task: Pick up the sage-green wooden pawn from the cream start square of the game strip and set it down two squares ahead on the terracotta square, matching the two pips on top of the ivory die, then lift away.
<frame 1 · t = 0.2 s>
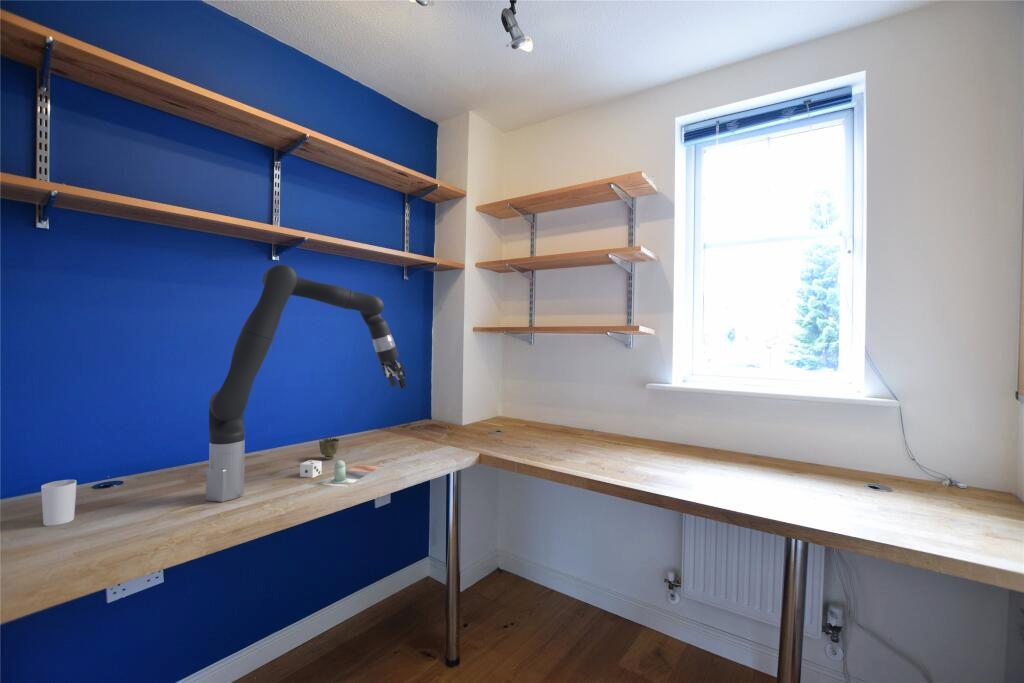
hand: (398, 387, 173), 31 cm above the table, tool tilted 20°, fingers open, 8 cm apart
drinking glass: (59, 522, 118), on the table
game strip: (352, 475, 161), on the table
die: (310, 476, 160), on the table
pawn: (339, 481, 153), resting on game strip
cup: (328, 459, 182), on the table
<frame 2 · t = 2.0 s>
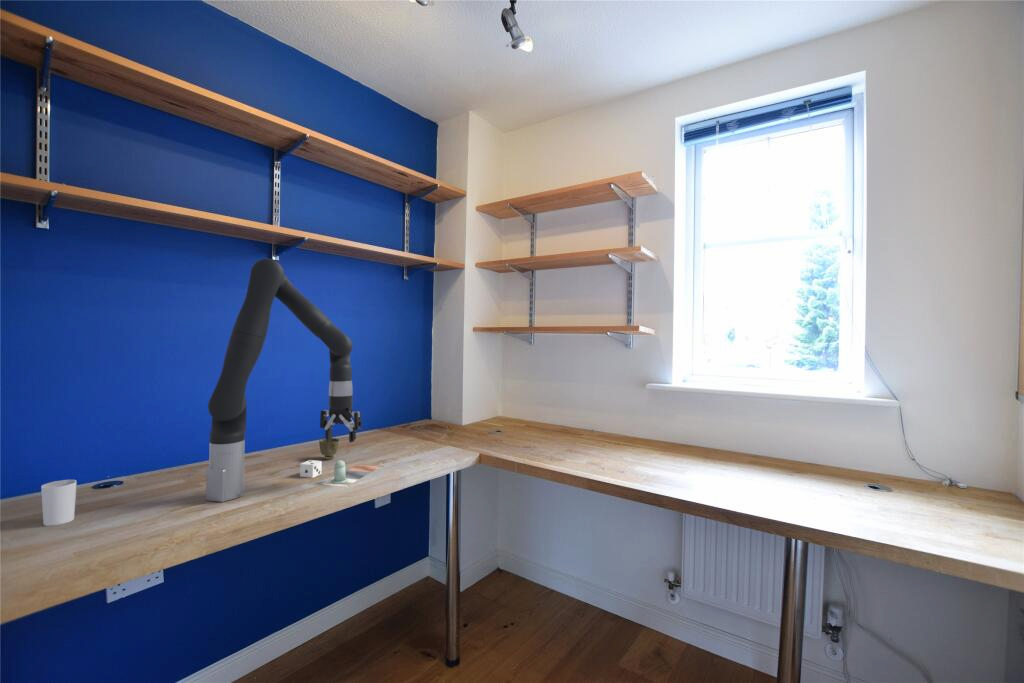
hand: (340, 441, 153), 14 cm above the table, tool pointing down, fingers open, 8 cm apart
nothing on the table moved.
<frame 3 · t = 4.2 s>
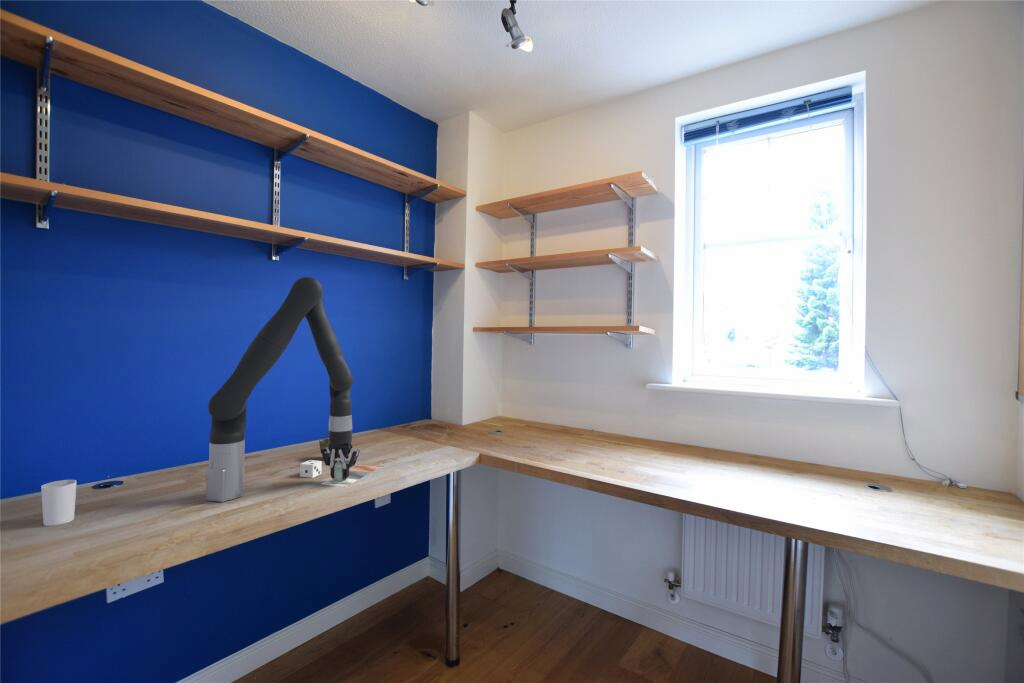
hand: (339, 478, 153), 2 cm above the table, tool pointing down, fingers closed on pawn, 3 cm apart
pawn: (339, 481, 153), resting on game strip, touching gripper
everything else where it was.
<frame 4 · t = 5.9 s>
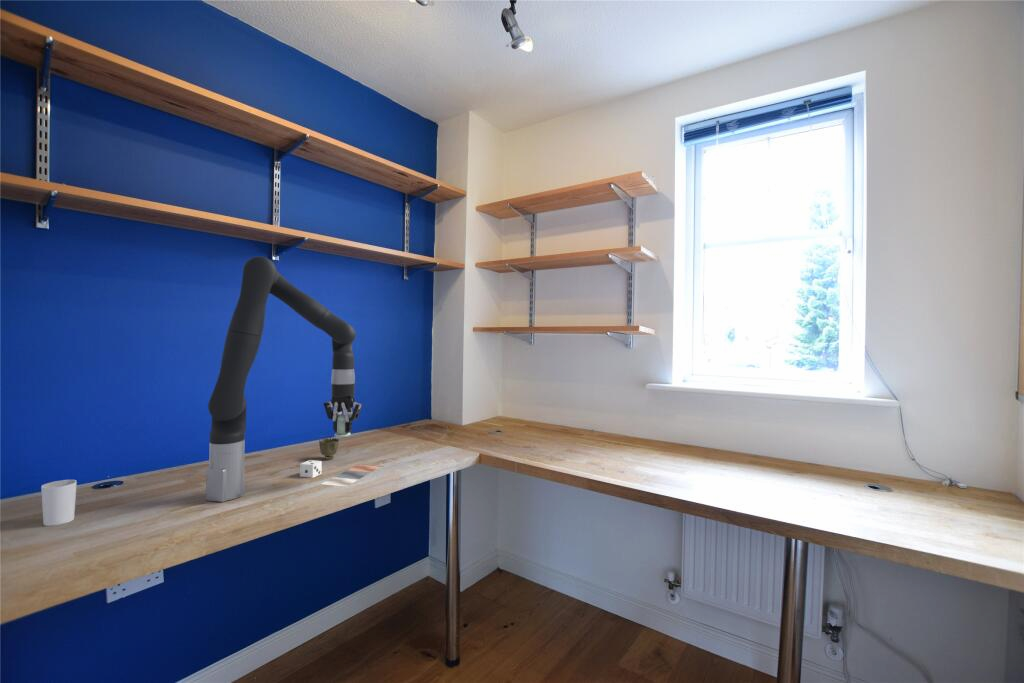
hand: (342, 431, 154), 17 cm above the table, tool pointing down, fingers closed on pawn, 3 cm apart
pawn: (342, 435, 154), point 16 cm above the table, touching gripper
everything else where it was.
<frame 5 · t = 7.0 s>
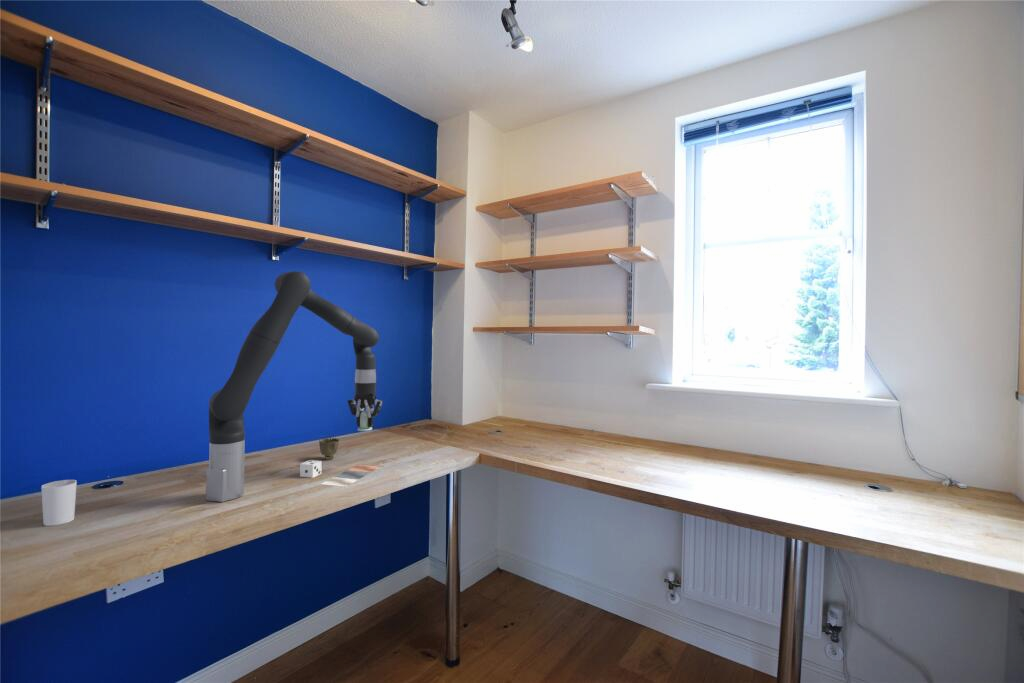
hand: (365, 426, 168), 16 cm above the table, tool pointing down, fingers closed on pawn, 3 cm apart
pawn: (364, 429, 168), point 15 cm above the table, touching gripper
everything else where it was.
when the fingers open (3 cm above the table, at t = 9.4 s): pawn drops 1 cm, resting on game strip.
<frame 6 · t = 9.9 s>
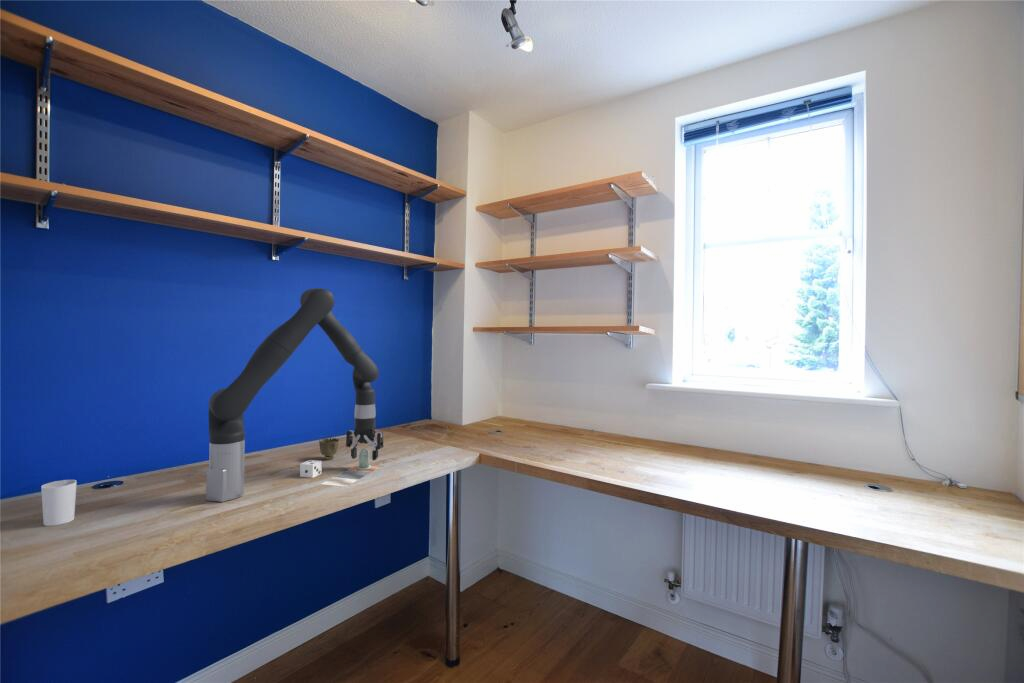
hand: (364, 459, 168), 4 cm above the table, tool pointing down, fingers open, 8 cm apart
pawn: (364, 468, 168), resting on game strip
everything else where it was.
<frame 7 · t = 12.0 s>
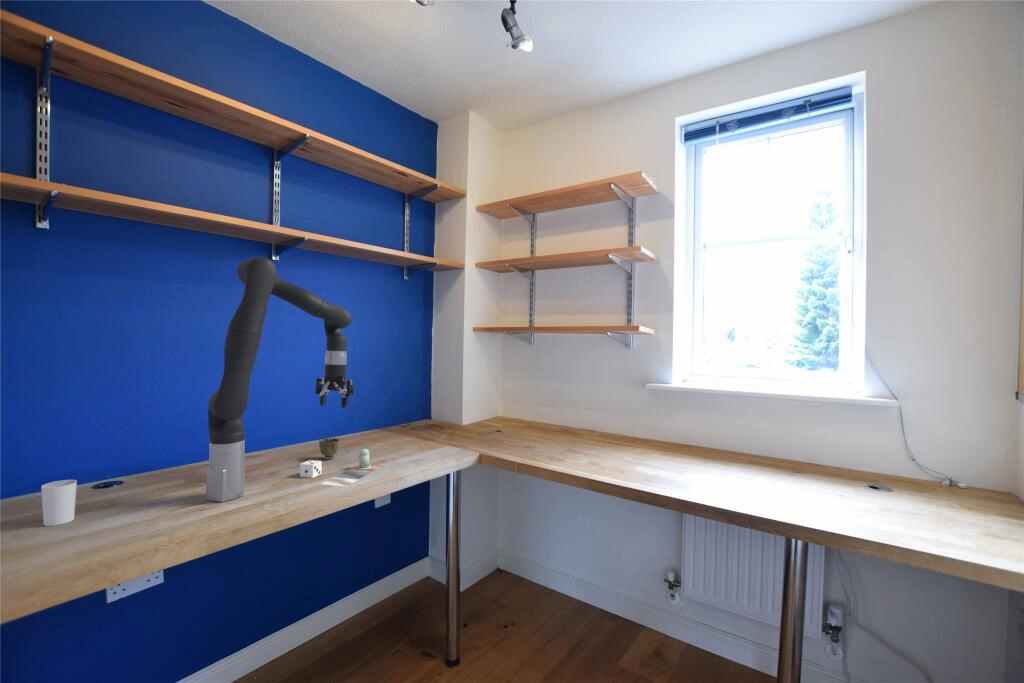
hand: (333, 406, 165), 24 cm above the table, tool pointing down, fingers open, 8 cm apart
nothing on the table moved.
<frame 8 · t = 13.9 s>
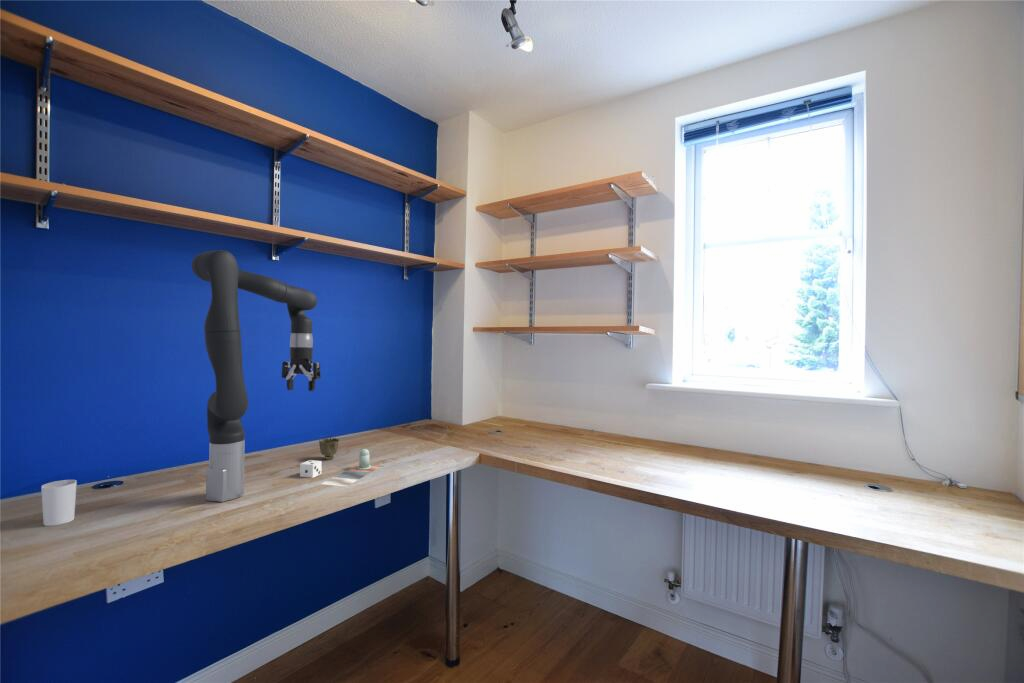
hand: (300, 390, 162), 30 cm above the table, tool pointing down, fingers open, 8 cm apart
nothing on the table moved.
at the end: pawn 0.1 cm from the target spot on the game strip, point 0.4 cm above the game strip's base; pawn tilted 0°; the gripper is holding nothing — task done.
